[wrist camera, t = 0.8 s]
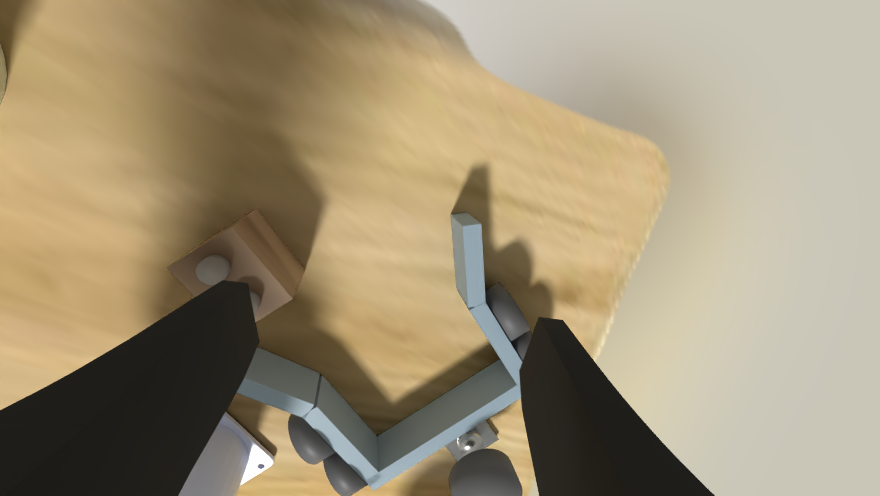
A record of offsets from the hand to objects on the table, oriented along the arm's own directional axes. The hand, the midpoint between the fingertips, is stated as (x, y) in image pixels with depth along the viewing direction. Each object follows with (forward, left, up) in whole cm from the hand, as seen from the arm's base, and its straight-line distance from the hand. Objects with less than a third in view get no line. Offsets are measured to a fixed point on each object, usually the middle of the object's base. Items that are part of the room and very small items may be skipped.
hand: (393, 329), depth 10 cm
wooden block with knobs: (-8, +1, -17) cm, 19 cm away
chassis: (-4, -10, -17) cm, 20 cm away
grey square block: (-4, -21, -17) cm, 27 cm away
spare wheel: (-4, -21, -13) cm, 25 cm away
